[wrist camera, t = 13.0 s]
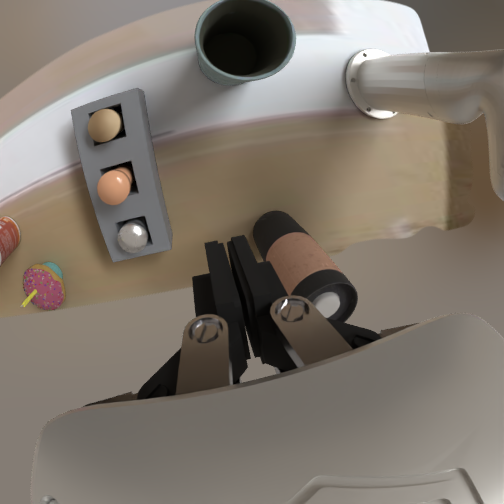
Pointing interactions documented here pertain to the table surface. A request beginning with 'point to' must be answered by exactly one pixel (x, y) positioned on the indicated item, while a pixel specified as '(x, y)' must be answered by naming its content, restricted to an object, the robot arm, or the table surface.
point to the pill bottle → (8, 237)
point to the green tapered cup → (243, 41)
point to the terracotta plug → (115, 185)
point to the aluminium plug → (133, 235)
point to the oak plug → (105, 125)
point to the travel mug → (304, 266)
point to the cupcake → (44, 286)
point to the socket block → (144, 165)
